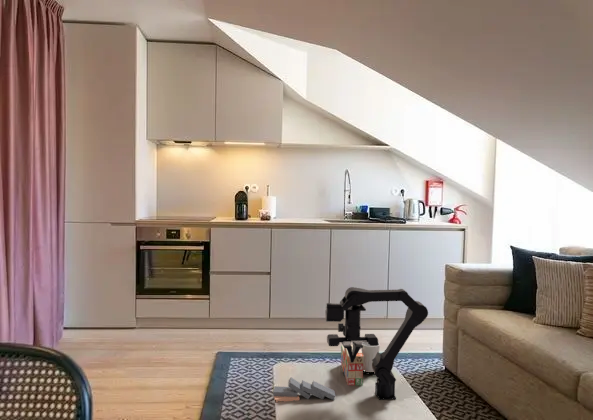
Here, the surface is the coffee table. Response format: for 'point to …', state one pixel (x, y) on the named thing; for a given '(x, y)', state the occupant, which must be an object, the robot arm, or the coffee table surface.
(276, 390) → the domino
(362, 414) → the coffee table surface
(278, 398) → the domino
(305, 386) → the domino
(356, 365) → the stack of blocks
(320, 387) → the domino
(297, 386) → the domino
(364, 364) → the cup
